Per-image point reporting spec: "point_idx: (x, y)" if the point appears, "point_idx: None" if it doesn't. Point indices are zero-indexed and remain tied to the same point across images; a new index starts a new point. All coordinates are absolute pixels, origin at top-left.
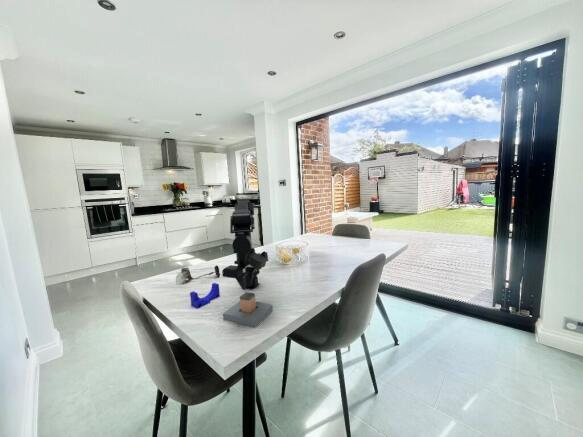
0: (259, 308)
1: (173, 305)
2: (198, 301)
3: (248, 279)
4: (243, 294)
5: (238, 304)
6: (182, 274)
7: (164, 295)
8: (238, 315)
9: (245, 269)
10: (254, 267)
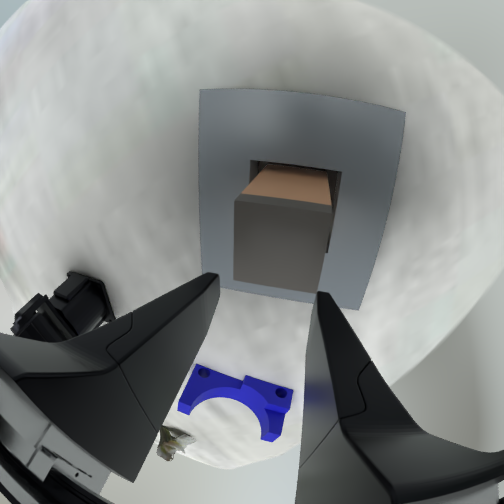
0: (268, 141)
1: (289, 428)
2: (283, 407)
3: (190, 336)
4: (275, 282)
5: None
6: (175, 450)
7: (250, 446)
8: (371, 230)
9: (136, 450)
10: (27, 399)
